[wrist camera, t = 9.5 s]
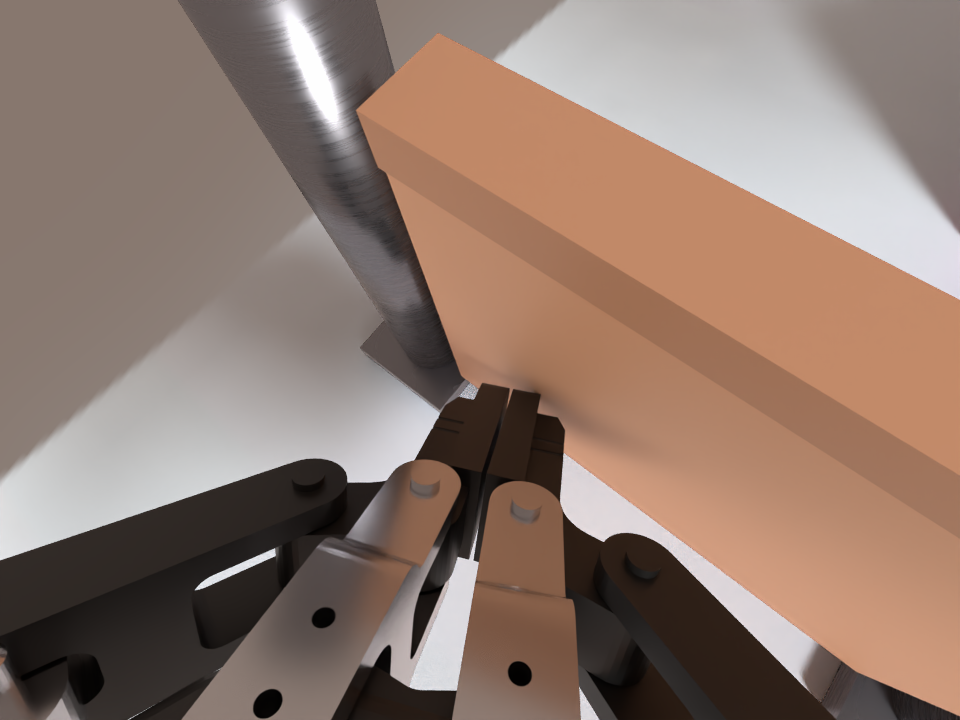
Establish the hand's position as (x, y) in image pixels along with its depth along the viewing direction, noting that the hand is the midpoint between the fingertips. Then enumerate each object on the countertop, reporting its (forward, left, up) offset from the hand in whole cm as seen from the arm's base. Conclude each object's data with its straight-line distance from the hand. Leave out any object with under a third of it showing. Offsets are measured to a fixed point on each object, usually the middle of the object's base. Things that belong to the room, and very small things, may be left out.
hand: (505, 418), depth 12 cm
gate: (-5, 0, -4) cm, 6 cm away
